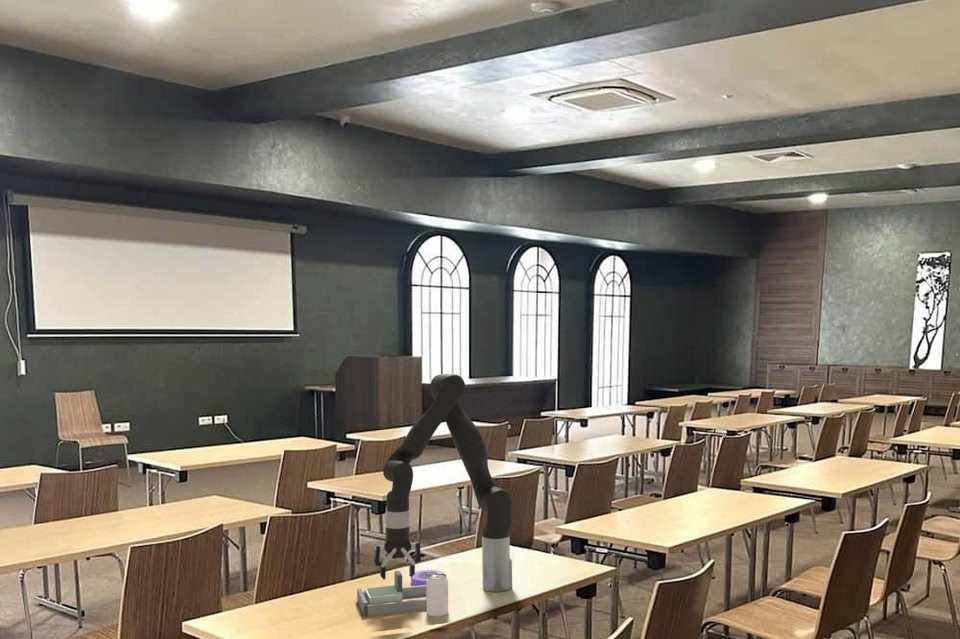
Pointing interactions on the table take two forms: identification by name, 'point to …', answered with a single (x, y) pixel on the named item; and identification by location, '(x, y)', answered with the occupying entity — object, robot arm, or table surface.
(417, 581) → the masking tape
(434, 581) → the can
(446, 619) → the table surface
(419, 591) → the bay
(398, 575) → the sliding tray
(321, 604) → the table surface
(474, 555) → the table surface
